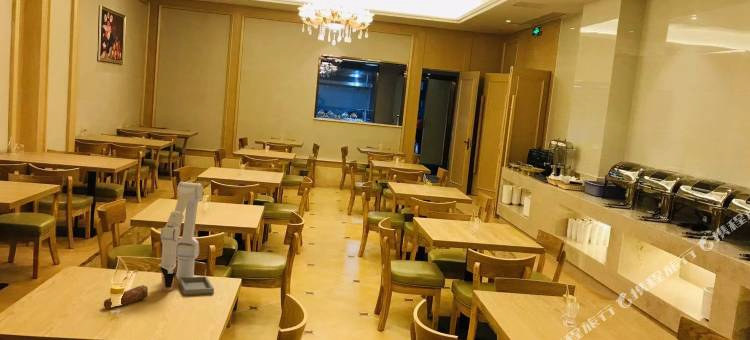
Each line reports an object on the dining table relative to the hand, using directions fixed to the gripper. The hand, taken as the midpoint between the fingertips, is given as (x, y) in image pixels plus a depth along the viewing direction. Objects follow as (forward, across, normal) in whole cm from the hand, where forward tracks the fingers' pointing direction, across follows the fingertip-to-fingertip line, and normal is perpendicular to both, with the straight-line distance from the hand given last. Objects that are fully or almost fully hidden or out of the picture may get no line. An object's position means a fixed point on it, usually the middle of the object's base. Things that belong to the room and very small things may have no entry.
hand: (167, 285), depth 272 cm
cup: (+2, 0, 0) cm, 2 cm away
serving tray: (+2, 0, +12) cm, 12 cm away
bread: (+2, +15, -17) cm, 23 cm away
